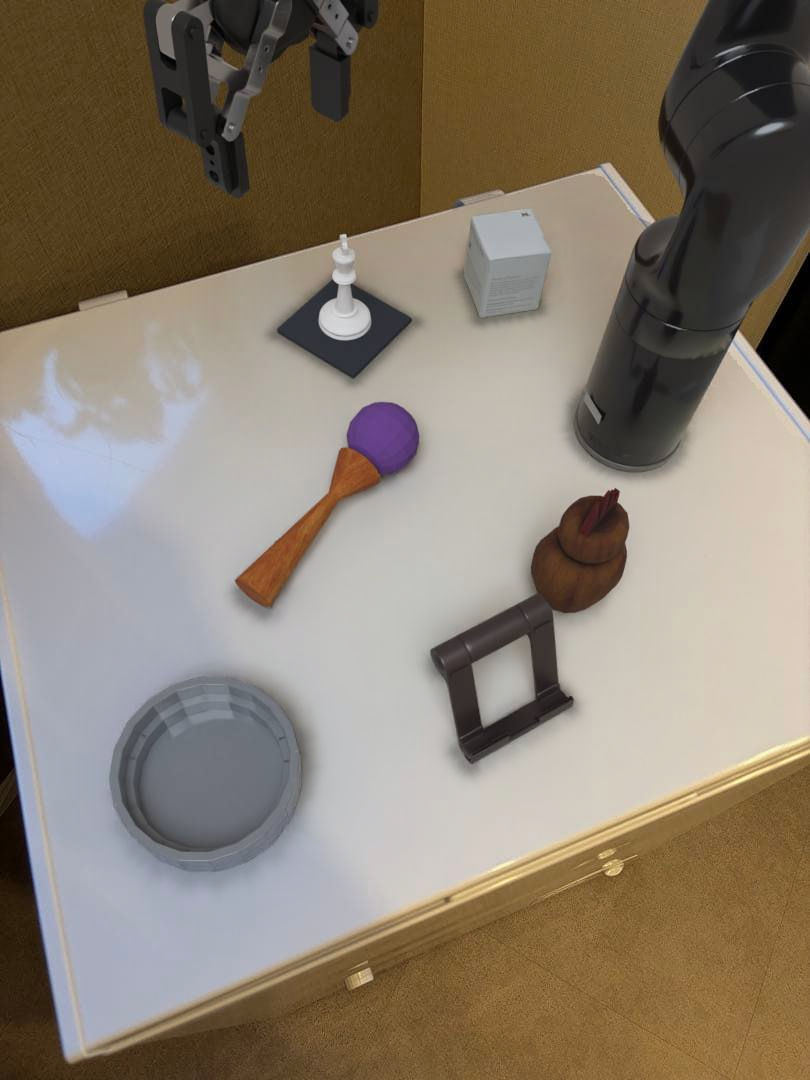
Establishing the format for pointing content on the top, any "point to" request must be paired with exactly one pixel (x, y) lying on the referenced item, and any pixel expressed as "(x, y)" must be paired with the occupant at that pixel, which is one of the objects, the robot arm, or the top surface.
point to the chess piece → (344, 300)
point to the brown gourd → (582, 554)
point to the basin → (206, 773)
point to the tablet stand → (484, 640)
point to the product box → (506, 262)
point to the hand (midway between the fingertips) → (282, 150)
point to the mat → (344, 352)
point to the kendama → (338, 491)
